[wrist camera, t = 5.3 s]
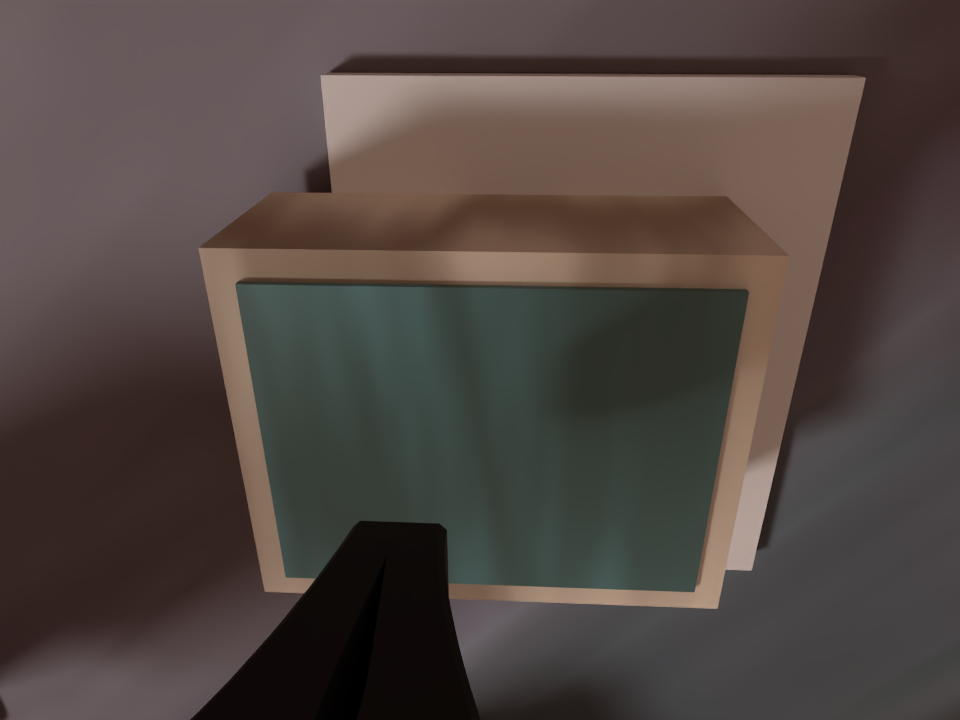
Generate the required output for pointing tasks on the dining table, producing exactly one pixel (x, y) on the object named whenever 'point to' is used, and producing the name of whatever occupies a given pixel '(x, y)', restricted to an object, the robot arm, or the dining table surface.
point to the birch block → (499, 383)
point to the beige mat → (624, 172)
